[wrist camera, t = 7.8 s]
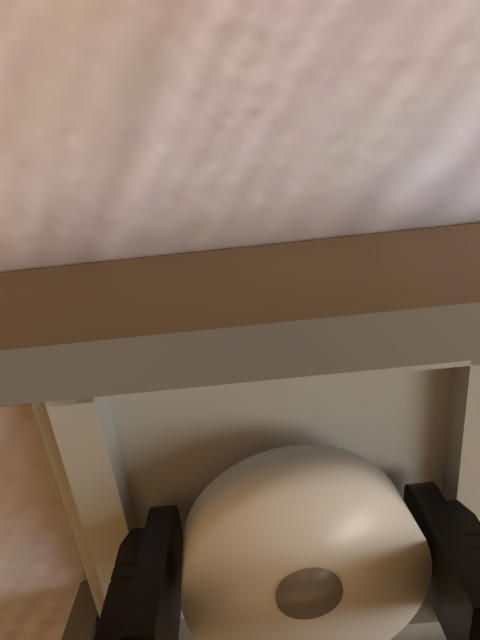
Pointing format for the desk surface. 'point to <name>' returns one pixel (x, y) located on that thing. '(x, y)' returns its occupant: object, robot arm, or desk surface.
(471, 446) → the tray
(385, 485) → the beige knobbed lid
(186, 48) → the desk surface
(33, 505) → the desk surface
